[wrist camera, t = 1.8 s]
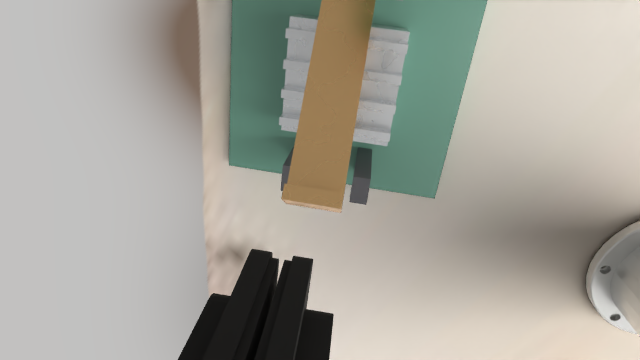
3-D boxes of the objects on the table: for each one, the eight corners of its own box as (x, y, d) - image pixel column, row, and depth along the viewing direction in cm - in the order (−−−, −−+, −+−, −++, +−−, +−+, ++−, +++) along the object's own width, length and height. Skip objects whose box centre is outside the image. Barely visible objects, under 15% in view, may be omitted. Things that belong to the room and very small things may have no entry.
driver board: (494, -41, 28) (528, -51, 21) (433, 193, 35) (444, 236, 29) (238, -71, 29) (198, -89, 23) (232, 160, 37) (202, 195, 30)
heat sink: (419, -38, 27) (430, -46, 22) (386, 133, 33) (388, 164, 27) (303, -52, 28) (283, -64, 22) (289, 118, 33) (269, 145, 27)
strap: (378, -20, 24) (382, -43, 22) (340, 212, 22) (341, 208, 20) (329, -26, 24) (328, -49, 22) (286, 203, 22) (281, 199, 20)
